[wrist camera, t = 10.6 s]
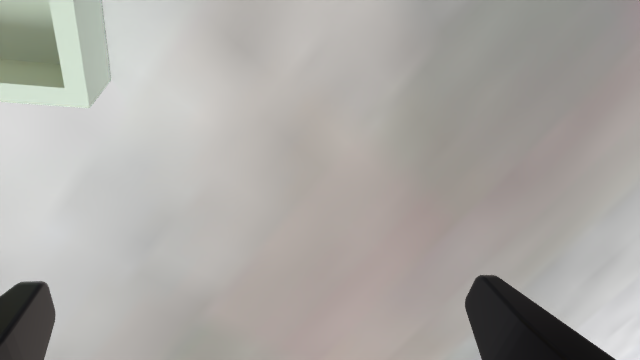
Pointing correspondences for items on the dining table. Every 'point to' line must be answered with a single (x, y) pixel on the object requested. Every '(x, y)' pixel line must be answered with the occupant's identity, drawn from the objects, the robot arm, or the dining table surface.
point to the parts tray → (53, 52)
